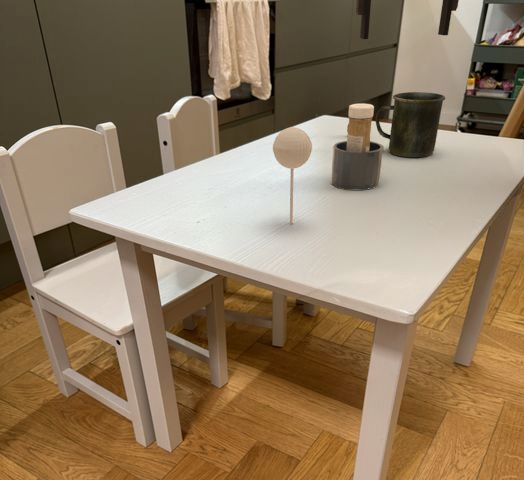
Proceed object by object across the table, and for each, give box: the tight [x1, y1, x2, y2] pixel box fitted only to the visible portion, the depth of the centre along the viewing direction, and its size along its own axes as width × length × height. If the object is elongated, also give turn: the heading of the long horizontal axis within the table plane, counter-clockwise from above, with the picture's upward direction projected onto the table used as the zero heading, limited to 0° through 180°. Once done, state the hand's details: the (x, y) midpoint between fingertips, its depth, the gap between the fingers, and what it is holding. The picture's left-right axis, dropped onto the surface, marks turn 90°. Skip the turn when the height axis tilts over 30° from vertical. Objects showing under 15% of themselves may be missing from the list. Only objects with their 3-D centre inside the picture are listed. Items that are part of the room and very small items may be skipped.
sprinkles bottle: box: [346, 103, 375, 152], centre depth 96 cm, size 5×5×14 cm
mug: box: [375, 91, 446, 158], centre depth 114 cm, size 11×15×12 cm
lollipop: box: [272, 126, 313, 225], centre depth 79 cm, size 6×6×15 cm
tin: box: [331, 140, 384, 190], centre depth 98 cm, size 9×9×7 cm
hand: (403, 37), depth 85 cm, fingers open, 13 cm apart
